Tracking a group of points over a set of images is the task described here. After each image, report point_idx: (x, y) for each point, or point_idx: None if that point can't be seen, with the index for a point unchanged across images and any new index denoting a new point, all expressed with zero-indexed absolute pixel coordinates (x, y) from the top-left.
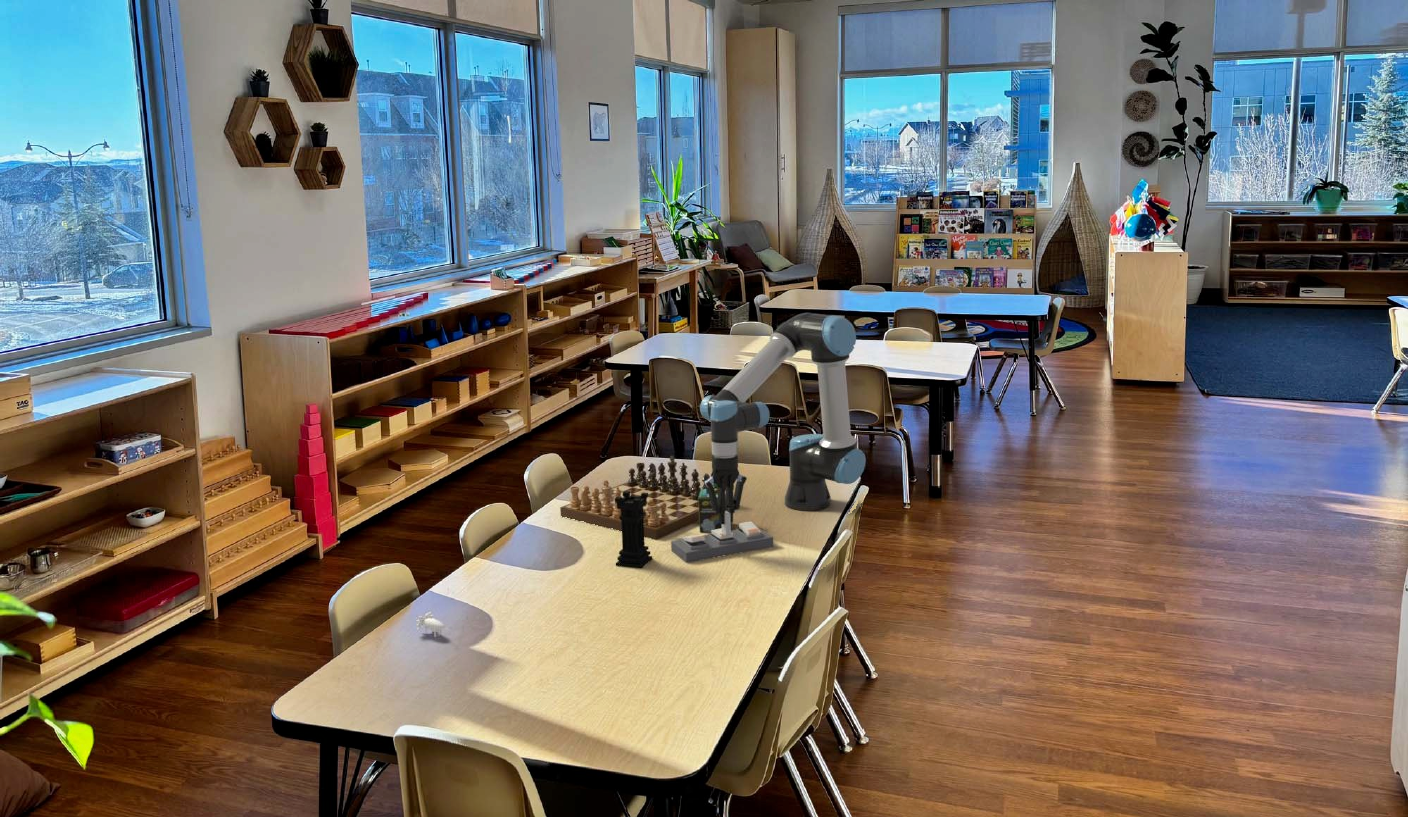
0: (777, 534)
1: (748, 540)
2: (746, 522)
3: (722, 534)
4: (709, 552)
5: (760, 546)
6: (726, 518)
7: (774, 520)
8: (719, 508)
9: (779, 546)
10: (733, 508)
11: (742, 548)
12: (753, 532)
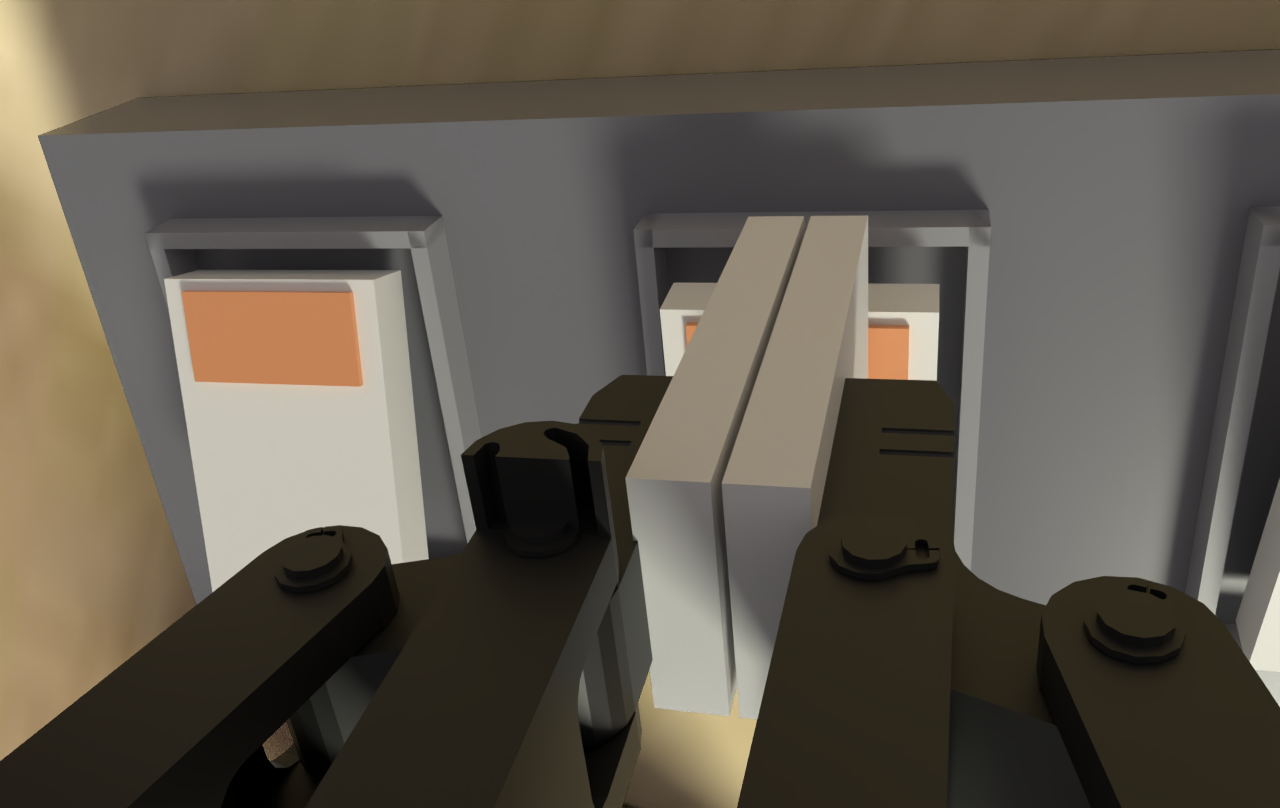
0: (36, 459)
1: (436, 171)
2: None
3: (868, 359)
4: (1277, 77)
5: (304, 101)
6: (791, 409)
7: None
8: (972, 745)
9: (60, 72)
10: (455, 575)
11: (596, 91)
12: (282, 290)
